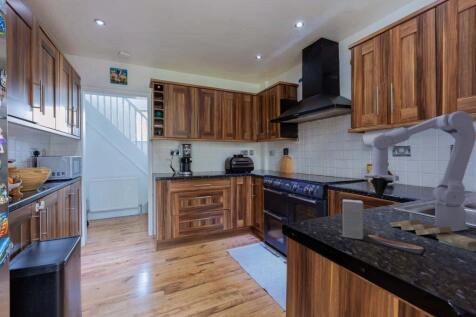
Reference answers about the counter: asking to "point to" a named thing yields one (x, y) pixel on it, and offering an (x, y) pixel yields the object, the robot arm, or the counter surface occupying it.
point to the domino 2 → (418, 226)
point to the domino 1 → (405, 223)
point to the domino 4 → (457, 239)
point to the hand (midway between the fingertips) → (379, 196)
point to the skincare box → (353, 219)
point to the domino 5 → (458, 245)
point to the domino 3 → (434, 230)
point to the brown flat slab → (394, 244)
